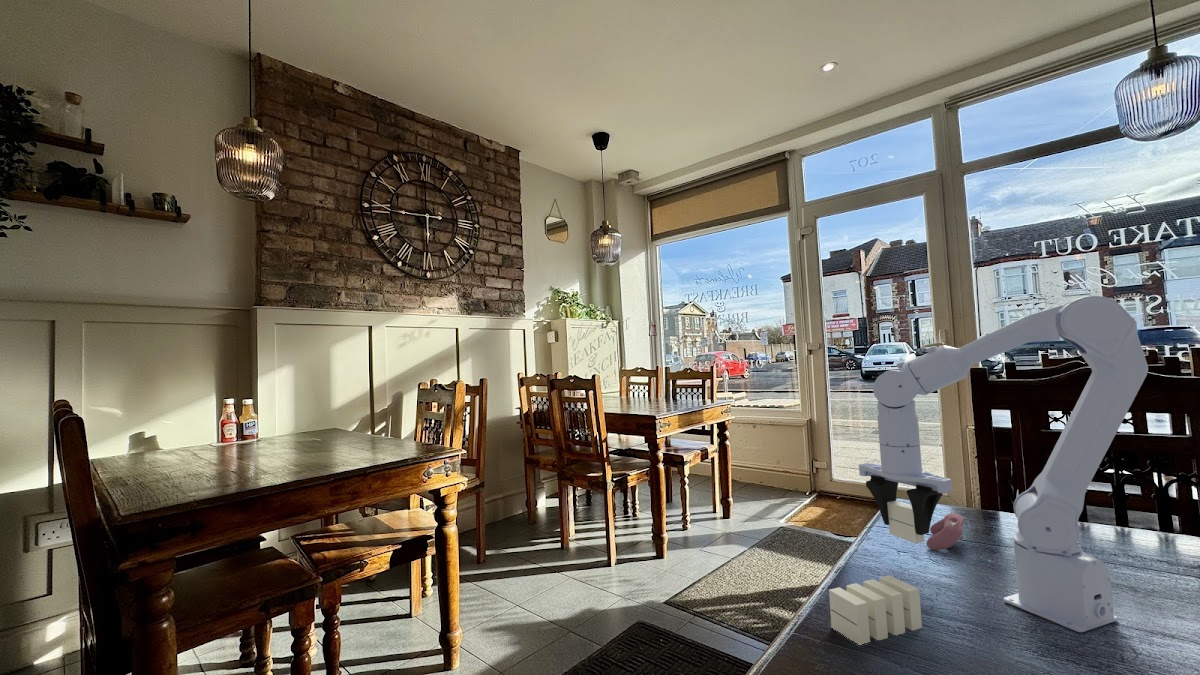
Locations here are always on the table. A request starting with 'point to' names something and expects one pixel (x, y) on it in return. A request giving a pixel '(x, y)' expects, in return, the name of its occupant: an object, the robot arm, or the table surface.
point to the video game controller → (946, 532)
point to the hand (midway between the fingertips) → (905, 528)
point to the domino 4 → (902, 521)
